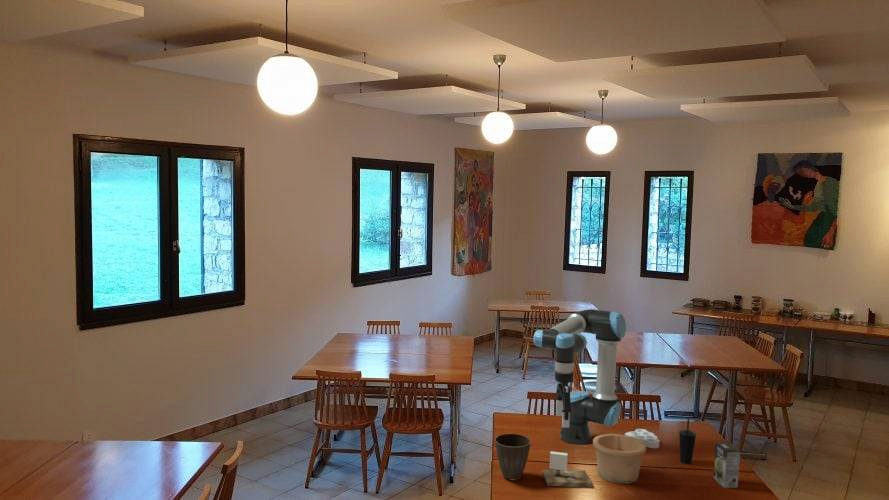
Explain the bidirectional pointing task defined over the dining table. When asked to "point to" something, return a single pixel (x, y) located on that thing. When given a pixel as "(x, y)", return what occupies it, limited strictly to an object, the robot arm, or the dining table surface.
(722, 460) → the coffee box
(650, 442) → the knuckle duster
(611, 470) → the pottery
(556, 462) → the white slab
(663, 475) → the dining table surface
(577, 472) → the brown flat rectangular block
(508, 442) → the plant pot
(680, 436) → the drinking cup
